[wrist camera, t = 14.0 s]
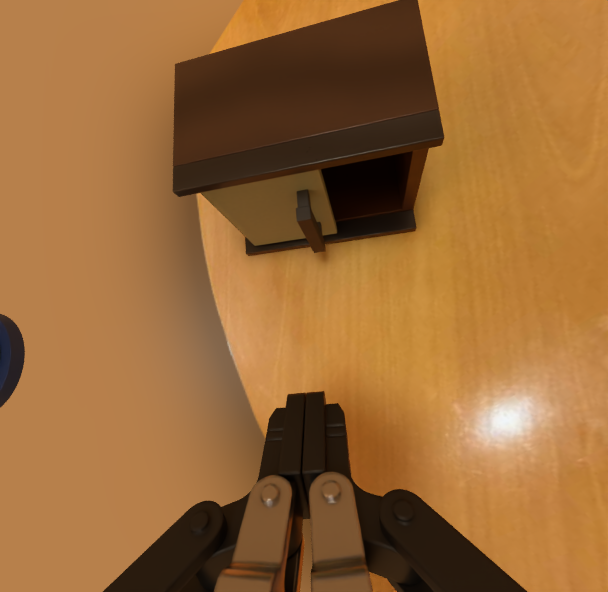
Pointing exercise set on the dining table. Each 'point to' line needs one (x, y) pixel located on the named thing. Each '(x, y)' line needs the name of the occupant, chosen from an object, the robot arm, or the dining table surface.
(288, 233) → the door
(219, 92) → the cabinet
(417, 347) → the dining table surface
